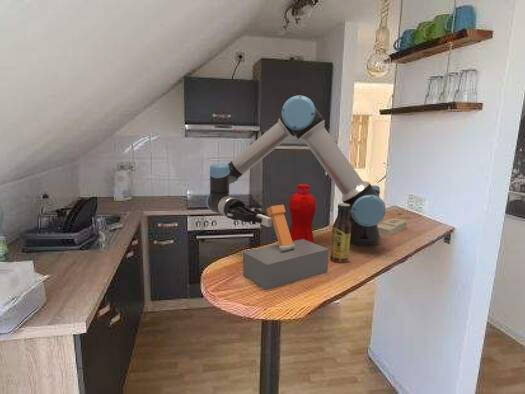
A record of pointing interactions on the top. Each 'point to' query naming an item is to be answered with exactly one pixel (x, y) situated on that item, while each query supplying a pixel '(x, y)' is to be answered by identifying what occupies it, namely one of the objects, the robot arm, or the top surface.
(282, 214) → the lever
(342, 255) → the sauce bottle
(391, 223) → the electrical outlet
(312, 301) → the top surface
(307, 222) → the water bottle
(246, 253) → the breaker box
